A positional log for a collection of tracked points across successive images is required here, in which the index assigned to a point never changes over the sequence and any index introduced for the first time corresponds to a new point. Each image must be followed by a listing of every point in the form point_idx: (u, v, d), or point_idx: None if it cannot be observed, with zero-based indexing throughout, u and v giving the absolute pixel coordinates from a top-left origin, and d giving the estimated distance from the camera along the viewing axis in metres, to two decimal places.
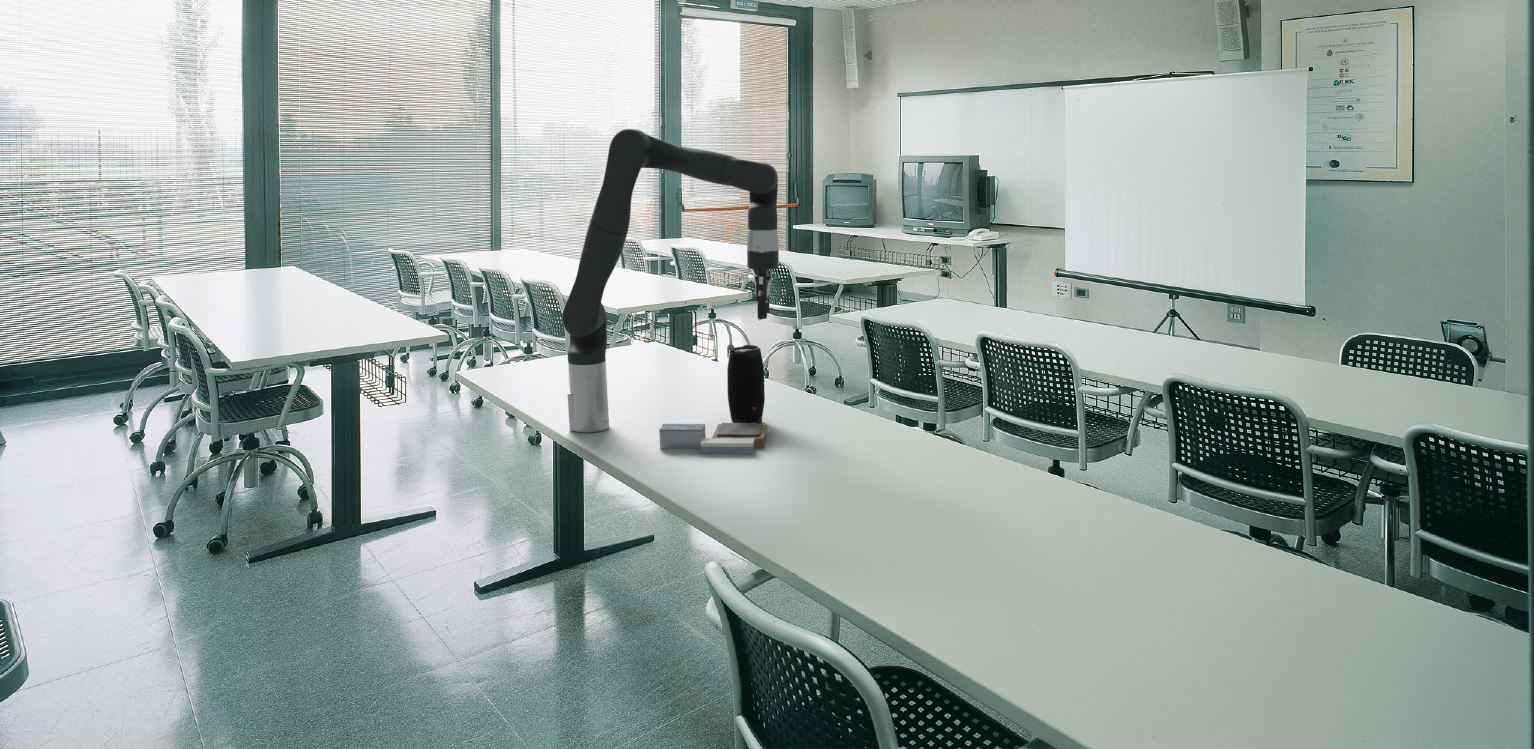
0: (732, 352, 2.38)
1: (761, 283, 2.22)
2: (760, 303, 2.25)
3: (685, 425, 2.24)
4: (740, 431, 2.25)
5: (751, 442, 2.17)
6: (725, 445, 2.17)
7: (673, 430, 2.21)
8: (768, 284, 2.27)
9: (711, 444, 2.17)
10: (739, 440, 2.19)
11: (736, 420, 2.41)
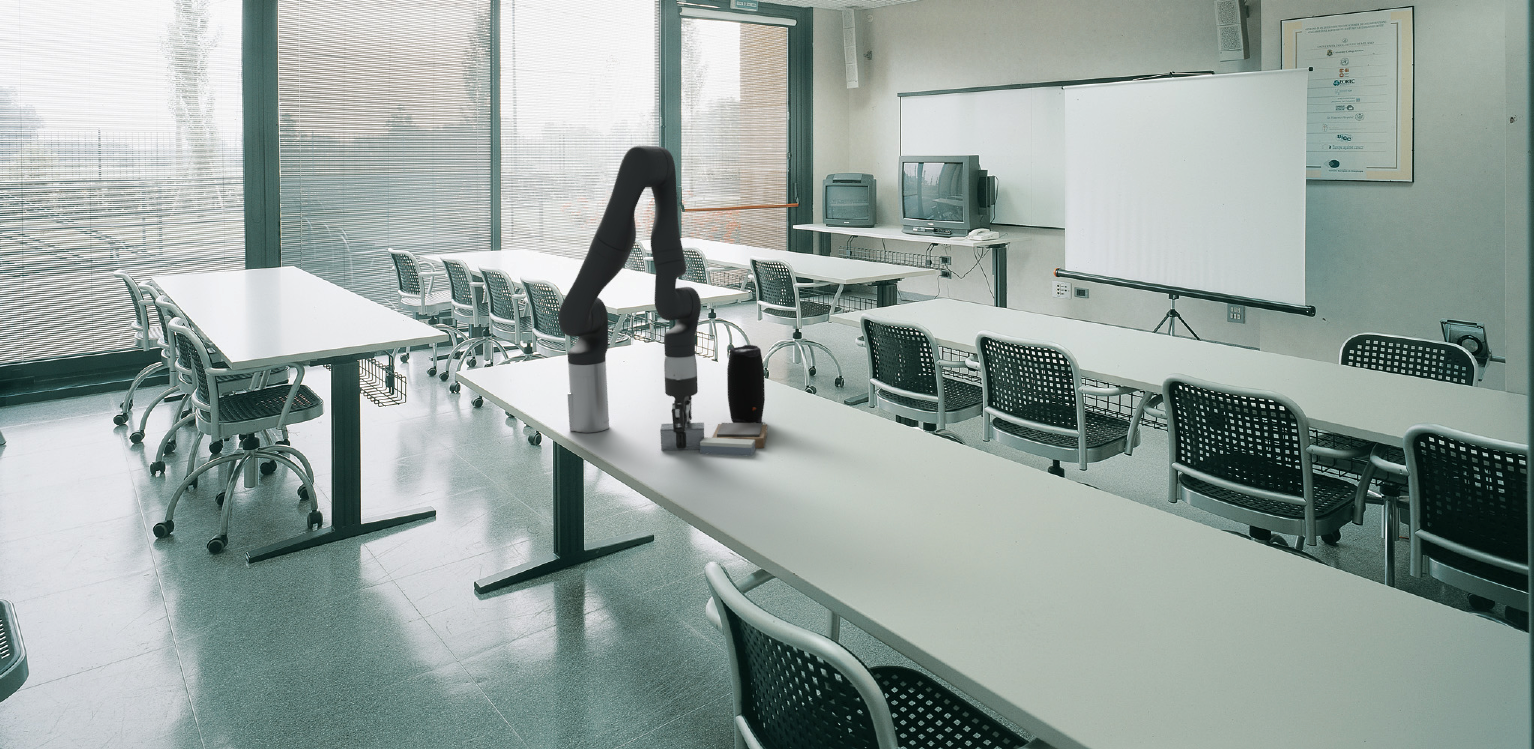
0: (732, 352, 2.38)
1: (678, 416, 2.16)
2: (678, 433, 2.19)
3: None
4: (740, 431, 2.25)
5: (750, 443, 2.17)
6: (724, 445, 2.17)
7: None
8: (686, 412, 2.20)
9: (710, 443, 2.18)
10: (739, 441, 2.19)
11: (736, 420, 2.41)
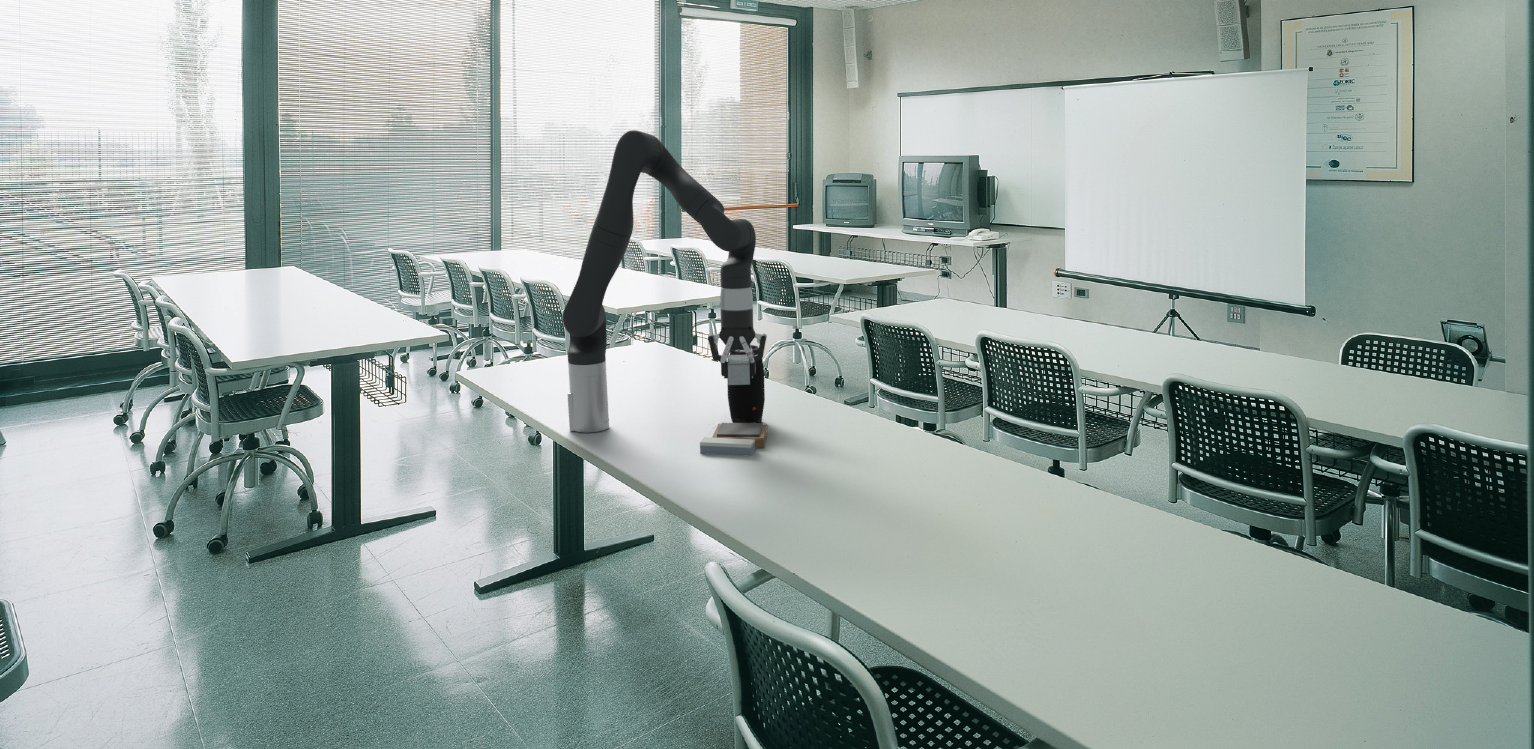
0: (732, 352, 2.38)
1: None
2: None
3: (743, 359, 2.23)
4: (740, 431, 2.25)
5: (750, 443, 2.17)
6: (724, 445, 2.17)
7: None
8: (726, 344, 2.21)
9: (710, 443, 2.18)
10: (739, 441, 2.19)
11: (736, 420, 2.41)
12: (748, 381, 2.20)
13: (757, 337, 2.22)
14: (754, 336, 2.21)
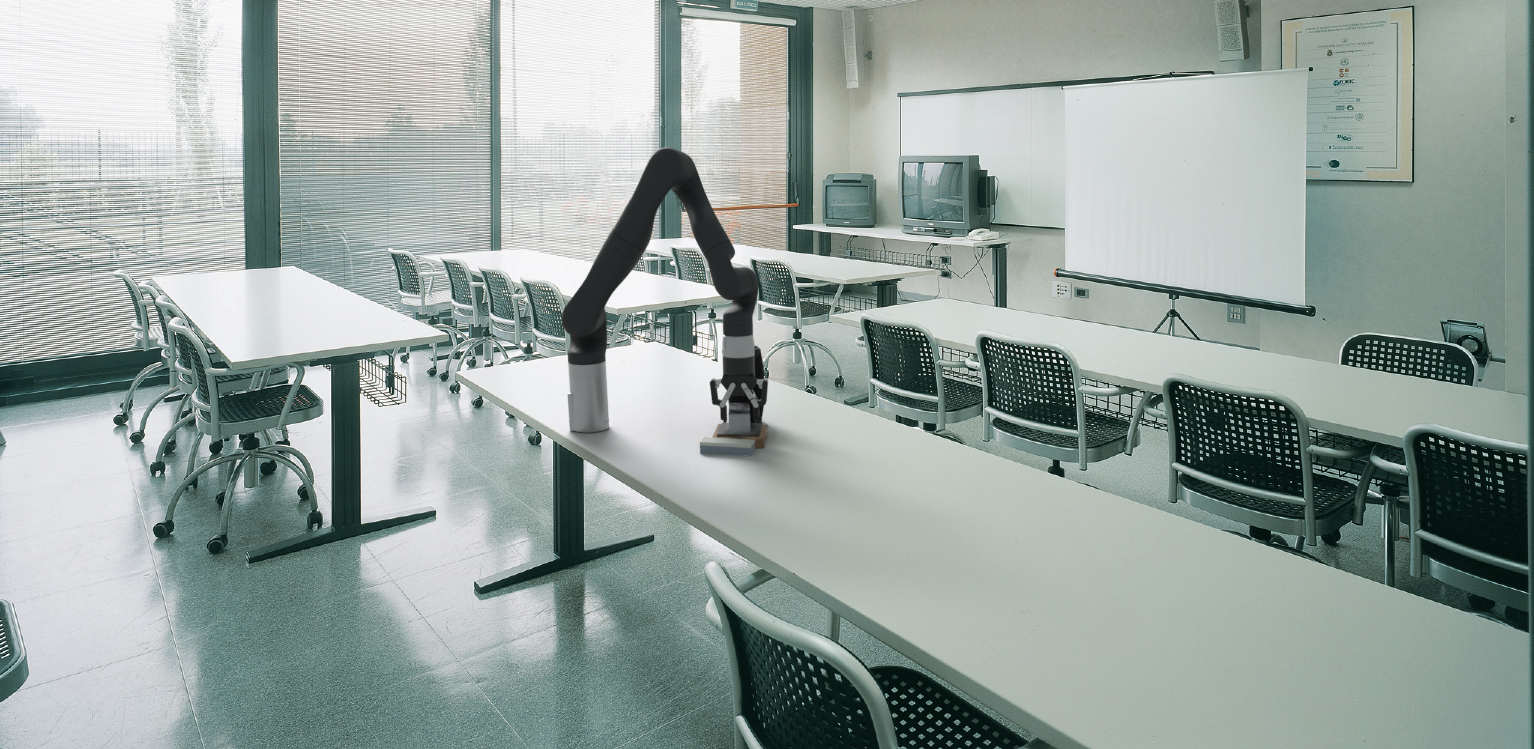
0: None
1: None
2: None
3: (744, 408, 2.26)
4: None
5: (749, 443, 2.17)
6: (724, 445, 2.17)
7: (729, 407, 2.28)
8: (727, 389, 2.24)
9: (710, 443, 2.18)
10: (739, 441, 2.19)
11: None
12: (749, 431, 2.23)
13: (759, 382, 2.24)
14: (756, 382, 2.24)
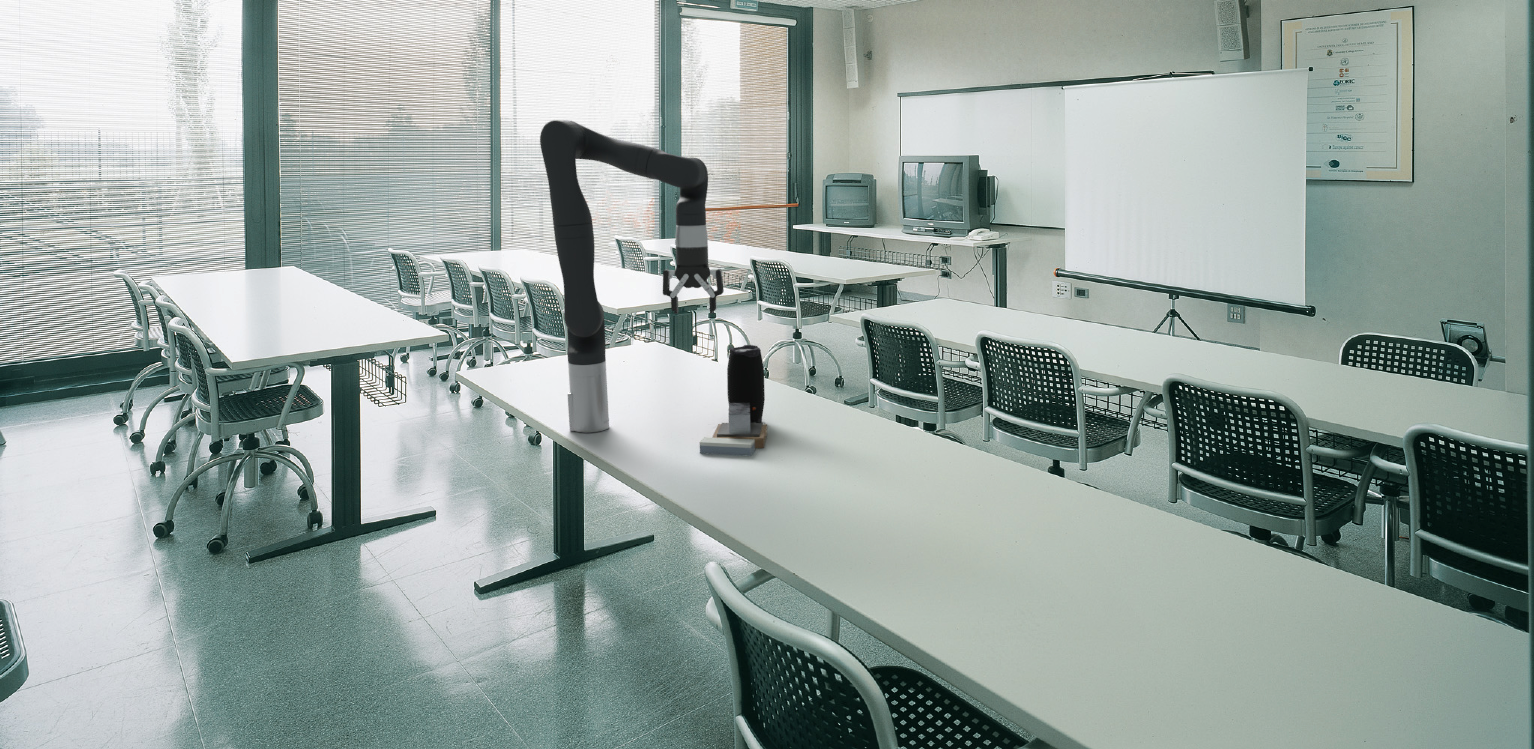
0: (732, 352, 2.38)
1: None
2: None
3: (744, 408, 2.26)
4: None
5: (749, 443, 2.17)
6: (723, 445, 2.17)
7: (729, 407, 2.28)
8: (680, 280, 2.24)
9: (710, 443, 2.18)
10: (738, 441, 2.19)
11: None
12: (749, 431, 2.23)
13: (712, 273, 2.24)
14: (709, 273, 2.24)
